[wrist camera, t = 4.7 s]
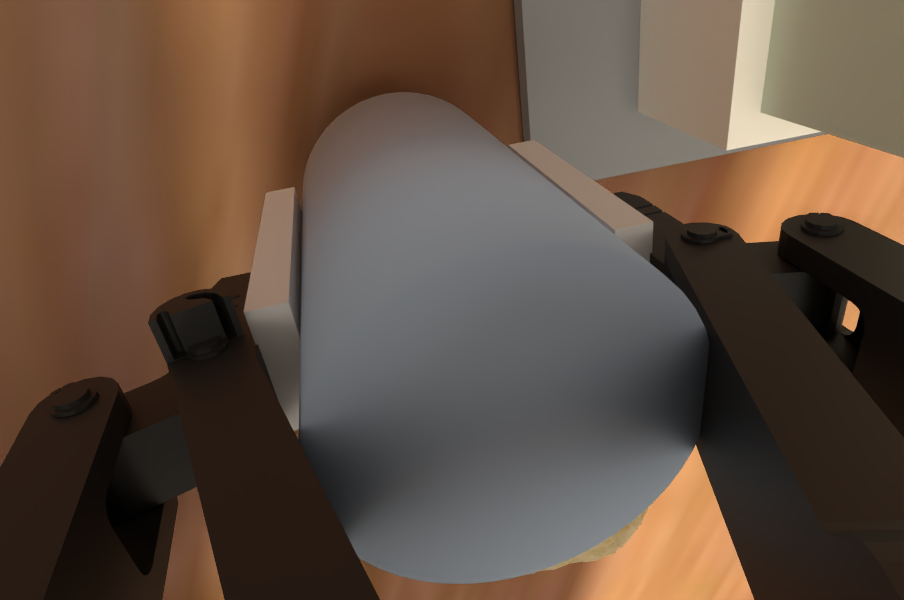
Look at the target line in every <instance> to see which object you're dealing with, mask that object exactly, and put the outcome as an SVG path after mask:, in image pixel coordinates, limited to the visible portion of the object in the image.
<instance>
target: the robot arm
mask: <svg viewBox="0 0 904 600" xmlns="http://www.w3.org/2000/svg"><path fill="white" fill-rule="evenodd" d="M509 149H510V150H511V151H513V152H514V153H515V154H516V155H518V156H519V157H520V158H521V159H523V160H524V161H525V162H526V163H527V164H529V165H530V166H531V167H532V168H534V169H535V170H536V171H537V172H538V173H540V174H541V175H542V176H543V177H545V178H546V179H547V180H548V181H550V182H551V183H552V184H553V185H554V186H556V187H557V188H558V189H559V190H561V191H562V192H563V193H564V194H566V195H567V196H568V197H569V198H570V199H572V200H573V201H574V202H575V203H577V204H578V205H579V206H580V207H582V208H583V209H584V210H585V211H586V212H588V213H589V214H590V215H591V216H593V217H594V218H595V219H596V220H597V221H599V222H600V223H601V224H602V225H604V226H605V227H606V228H607V229H609V230H610V231H611V232H612V233H613V234H615V235H616V236H617V237H618V238H620V239H621V240H622V241H623V242H625V243H626V244H627V245H628V246H629V247H631V248H632V249H633V250H634V251H636V252H637V253H638V254H639V255H641V256H642V257H643V258H644V259H645V260H647V261H648V262H649V263H650V264H652V265H653V266H654V267H655V268H656V269H658V270H659V271H660V272H661V273H663V274H664V275H665V276H666V277H667V278H668V279H669V280H671V281H672V282H673V283H674V284H675V285H676V286H677V287H678V288H679V289H680V290H682V292H683V293H684V294H685V295H686V297H687V298H688V299H689V301H690V302H691V303H692V305H693V306H694V307H695V309H696V311H697V313H698V315H699V317H700V318H701V320H702V322H703V324H704V326H705V329H706V332H707V336H708V339H709V342H710V344H709V354H708V363H707V373H706V382H705V392H704V401H703V411H702V420H701V430H700V436H699V438H698V440H697V442H696V446H697V449H698V451H699V454H700V457H701V459H702V462H703V465H704V467H705V470H706V473H707V475H708V478H709V481H710V483H711V486H712V488H713V491H714V494H715V496H716V499H717V502H718V504H719V507H720V510H721V512H722V515H723V518H724V520H725V523H726V526H727V528H728V531H729V533H730V536H731V539H732V541H733V544H734V547H735V549H736V552H737V555H738V557H739V560H740V563H741V565H742V568H743V571H744V573H745V576H746V578H747V581H748V584H749V586H750V589H751V592H752V594H753V597H754V600H904V245H902V244H900V243H898V242H896V241H894V240H892V239H890V238H887V237H885V236H883V235H881V234H879V233H877V232H875V231H873V230H871V229H869V228H867V227H865V226H863V225H861V224H859V223H857V222H854V221H852V220H849V219H846V218H843V217H838V216H833V215H831V214H829V213H820V214H819V213H809V214H807V215H798V216H794V217H791V218H788V219H786V220H785V221H784V222H783V223H782V225H781V231H780V238H779V241H774V242H758V243H745V241H744V240H743V239H742V238H741V236H740V235H739V234H738V233H737V232H735V231H734V230H733V229H731V228H729V227H727V226H723V225H719V224H712V223H689V224H683V223H681V222H680V221H678V220H676V219H675V218H673V217H672V216H670V215H669V214H667V213H665V212H662V210H661V209H659V208H658V207H656V206H653V204H651V203H650V202H648V201H647V200H645V199H644V198H642V197H640V196H636V195H633V194H629V193H625V192H619V193H614V194H612V193H611V192H609V191H608V190H607V189H605V188H604V187H602V186H601V185H599V184H598V183H596V182H595V181H593V180H592V179H591V178H589V177H588V176H586V175H585V174H583V173H582V172H580V171H579V170H577V169H576V168H575V167H573V166H572V165H570V164H569V163H567V162H566V161H564V160H563V159H561V158H560V157H559V156H557V155H556V154H554V153H553V152H551V151H550V150H548V149H547V148H545V147H544V146H543V145H541V144H540V143H538V142H537V141H535V140H531V141H526V142H521V143H516V144H510V145H509ZM301 254H302V211H301V208H300V204H299V201H298V197H297V194H296V190H295V187H292V188H287V189H282V190H277V191H271V192H266V196H265V201H264V206H263V211H262V217H261V222H260V227H259V233H258V238H257V243H256V249H255V254H254V259H253V264H252V270H251V272H250V273H245V274H240V275H236V276H231V277H226V278H222V279H221V280H220V281H218V282H217V283H216V284H215V285H214V286H213V287H212V288H211V289H203V290H197V291H193V292H189V293H185V294H183V295H180V296H178V297H176V298H173V299H171V300H169V301H167V302H166V303H164V304H162V305H161V306H159V307H158V308H157V309H156V310H155V311H154V312H153V313H152V314H151V315H150V318H149V322H148V324H149V326H150V328H151V330H152V332H153V334H154V336H155V339H156V341H157V343H158V345H159V347H160V349H161V351H162V354H163V356H164V358H165V360H166V362H167V365H168V369H169V373H168V374H166V375H165V376H163V377H161V378H159V379H157V380H155V381H153V382H151V383H148V384H146V385H143V386H141V387H138V388H136V389H134V390H131V391H129V392H126V393H123V391H122V389H121V388H120V386H119V384H118V383H117V382H116V381H115V380H114V379H112V378H107V377H95V378H89V379H84V380H81V381H78V382H72V383H69V384H67V385H65V386H63V388H59V389H57V390H55V391H54V392H52V393H51V394H50V395H49V396H48V397H46V398H45V399H44V400H42V401H41V402H40V403H39V404H38V405H37V406H36V407H35V408H34V409H33V411H32V412H31V413H30V414H29V416H28V418H27V420H26V422H25V423H24V425H23V427H22V429H21V431H20V432H19V434H18V436H17V438H16V440H15V442H14V443H13V445H12V447H11V449H10V451H9V453H8V454H7V456H6V458H5V460H4V462H3V463H2V465H1V467H0V600H162V598H163V592H164V586H165V580H166V574H167V568H168V562H169V556H170V549H171V543H172V537H173V531H174V525H175V519H176V513H177V507H178V499H177V496H178V495H180V494H182V493H184V492H186V491H189V490H191V489H193V488H195V487H197V488H198V492H199V496H200V500H201V504H202V508H203V513H204V517H205V521H206V525H207V529H208V533H209V537H210V541H211V545H212V549H213V554H214V558H215V562H216V566H217V570H218V574H219V578H220V582H221V586H222V590H223V595H224V599H225V600H380V599H379V597H378V595H377V593H376V591H375V589H374V587H373V585H372V583H371V581H370V579H369V577H368V576H367V574H366V572H365V570H364V568H363V566H362V564H361V562H360V560H359V558H358V556H357V554H356V552H355V550H354V548H353V546H352V544H351V542H350V540H349V538H348V536H347V534H346V532H345V530H344V528H343V527H342V525H341V523H340V521H339V519H338V517H337V515H336V513H335V511H334V509H333V507H332V505H331V503H330V501H329V499H328V497H327V495H326V493H325V491H324V489H323V487H322V485H321V483H320V481H319V479H318V477H317V476H316V474H315V472H314V470H313V468H312V466H311V464H310V462H309V460H308V458H307V456H306V454H305V452H304V450H303V448H302V446H301V444H300V442H299V440H298V438H297V436H296V434H295V432H294V431H295V430H299V383H300V318H301ZM848 300H849V301H851V302H852V303H853V304H854V305H856V306H857V307H858V309H859V310H860V315H859V318H858V322H857V326H856V329H855V331H854V332H852V331H850V330H849V329H847V328H846V327H844V326H843V325H842V323H843V319H844V314H845V310H846V306H847V302H848Z"/></svg>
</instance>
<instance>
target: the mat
mask: <svg viewBox="0 0 904 600" xmlns="http://www.w3.org/2000/svg"><path fill="white" fill-rule="evenodd" d="M514 11H515V26H516V40H517V54H518V68H519V83H520V97H521V111H522V126H523V140H524V142H526V141H531V140H535V141H537V142H538V143H540V144H541V145H543V146H544V147H545V148H547V149H548V150H550V151H551V152H553V153H554V154H556V155H557V156H559V157H560V158H561V159H563V160H564V161H566V162H567V163H569V164H570V165H572V166H573V167H575V168H576V169H577V170H579V171H580V172H582V173H583V174H585V175H586V176H588V177H589V178H591V179H592V180H598V179H603V178H608V177H613V176H618V175H623V174H628V173H633V172H638V171H643V170H648V169H653V168H658V167H663V166H669V165H674V164H679V163H684V162H689V161H694V160H699V159H704V158H709V157H714V156H719V155H724V154H729V153H734V152H739V151H744V150H749V149H754V148H759V147H764V146H770V145H775V144H780V143H785V142H790V141H795V140H800V139H805V138H810V137H815V136H820V135H825V134H827V133H824V132H818V133H813V134H808V135H802V136H797V137H792V138H787V139H782V140H777V141H772V142H767V143H762V144H757V145H752V146H747V147H742V148H737V149H732V150H724V149H722V148H720V147H717V146H715V145H713V144H711V143H708V142H706V141H704V140H701V139H699V138H697V137H695V136H692V135H690V134H688V133H685V132H683V131H681V130H679V129H676V128H674V127H672V126H669V125H667V124H665V123H662V122H660V121H658V120H656V119H653V118H651V117H649V116H646V115H644V114H642V113H640V112H638V88H639V53H640V18H641V0H514Z"/></svg>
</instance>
